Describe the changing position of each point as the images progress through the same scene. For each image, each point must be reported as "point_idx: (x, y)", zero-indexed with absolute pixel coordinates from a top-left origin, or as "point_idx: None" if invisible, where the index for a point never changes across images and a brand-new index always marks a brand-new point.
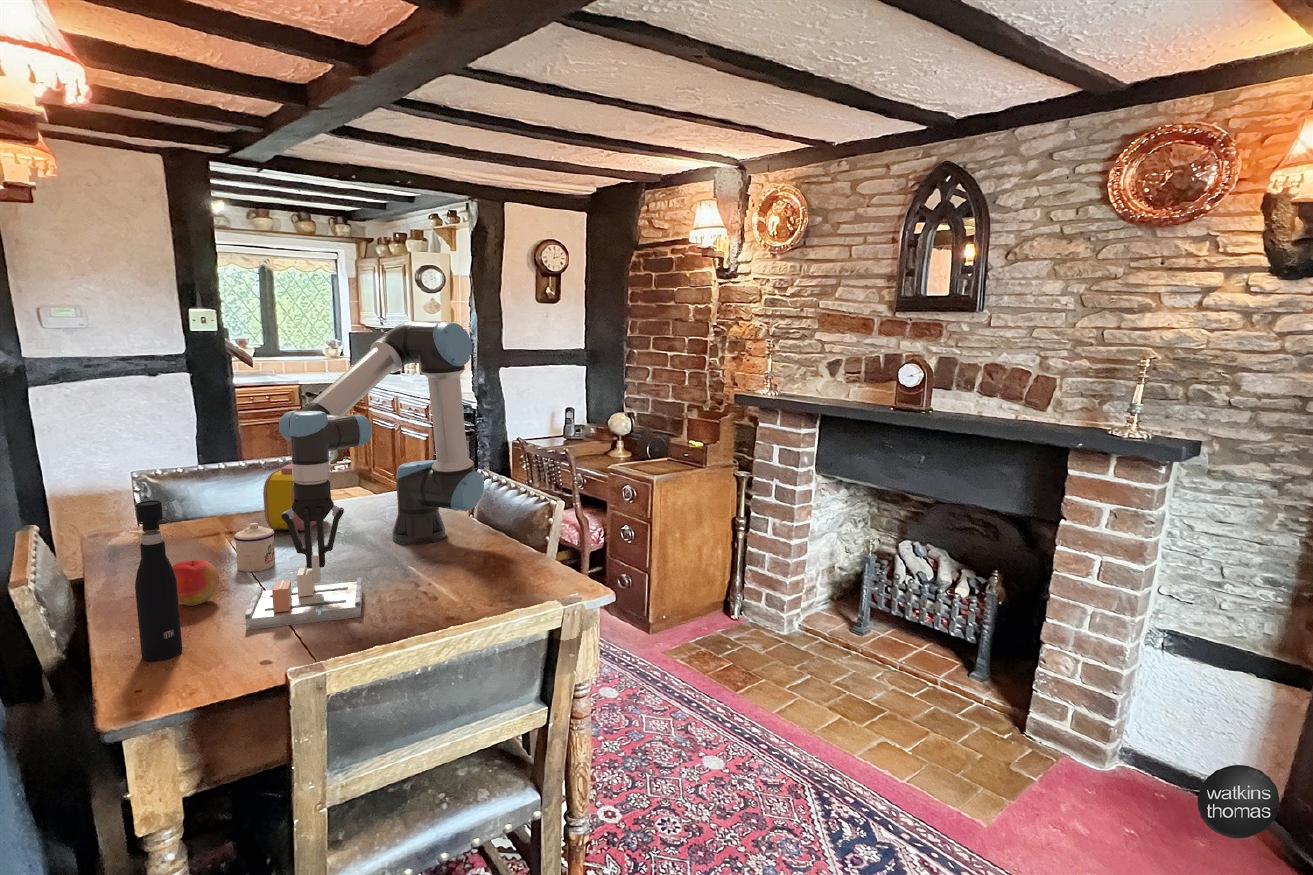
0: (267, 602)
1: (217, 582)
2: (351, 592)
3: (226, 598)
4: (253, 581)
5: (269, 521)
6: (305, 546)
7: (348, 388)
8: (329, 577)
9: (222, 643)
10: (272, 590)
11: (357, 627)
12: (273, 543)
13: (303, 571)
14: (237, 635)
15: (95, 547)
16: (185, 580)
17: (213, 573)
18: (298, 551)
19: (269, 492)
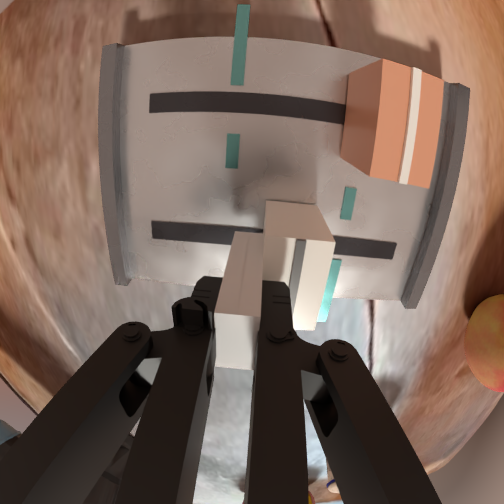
0: (408, 199)
1: (479, 335)
2: (136, 185)
3: (442, 320)
4: None
5: (310, 497)
6: (299, 377)
7: None
8: (226, 369)
9: (474, 44)
10: (441, 80)
11: None
12: (329, 467)
13: (302, 284)
14: (455, 68)
15: (455, 454)
16: None
17: (498, 347)
18: (346, 348)
19: None
